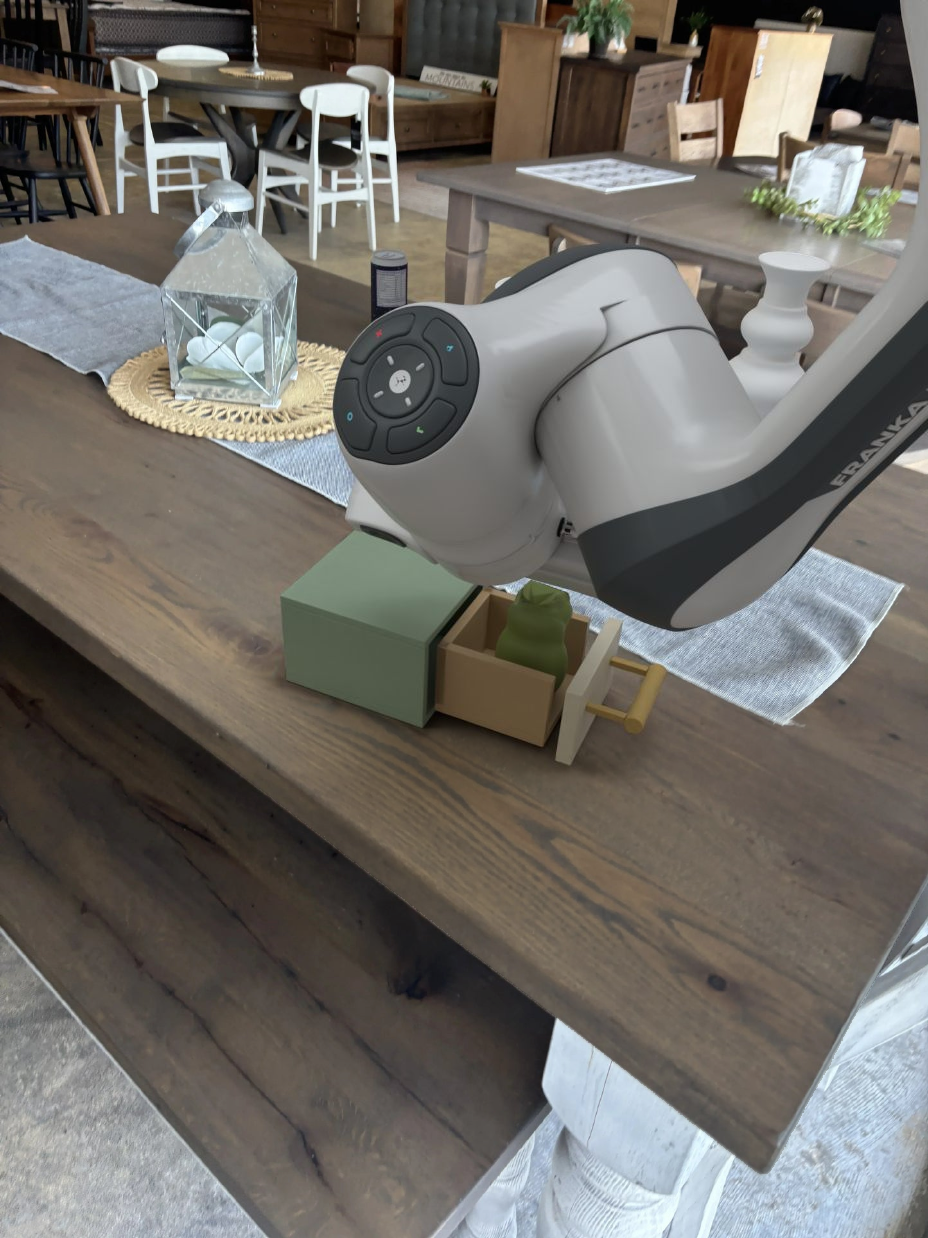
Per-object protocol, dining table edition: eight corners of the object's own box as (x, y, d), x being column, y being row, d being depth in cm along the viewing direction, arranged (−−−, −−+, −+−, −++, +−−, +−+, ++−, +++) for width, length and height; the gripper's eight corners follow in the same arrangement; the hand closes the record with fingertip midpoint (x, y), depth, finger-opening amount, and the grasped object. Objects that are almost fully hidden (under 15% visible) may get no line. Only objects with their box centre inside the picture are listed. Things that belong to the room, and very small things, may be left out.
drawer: (662, 703, 73) (678, 636, 69) (626, 785, 65) (642, 715, 61) (482, 646, 78) (488, 580, 74) (430, 717, 70) (433, 648, 66)
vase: (789, 463, 113) (849, 253, 98) (783, 501, 104) (848, 277, 90) (701, 446, 116) (747, 239, 101) (688, 482, 107) (737, 261, 93)
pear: (480, 698, 70) (489, 591, 65) (512, 662, 74) (523, 559, 68) (545, 725, 68) (560, 617, 62) (574, 687, 72) (591, 582, 66)
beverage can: (413, 331, 146) (414, 253, 139) (394, 340, 142) (395, 260, 135) (383, 324, 148) (383, 246, 141) (364, 333, 144) (363, 254, 137)
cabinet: (481, 649, 79) (487, 567, 74) (422, 728, 70) (425, 642, 65) (356, 609, 82) (354, 529, 78) (286, 680, 74) (279, 595, 69)
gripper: (680, 497, 50) (686, 565, 63) (355, 420, 56) (422, 496, 69) (645, 605, 49) (659, 650, 62) (320, 514, 55) (394, 573, 68)
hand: (532, 568), depth 66 cm, fingers open, 8 cm apart
